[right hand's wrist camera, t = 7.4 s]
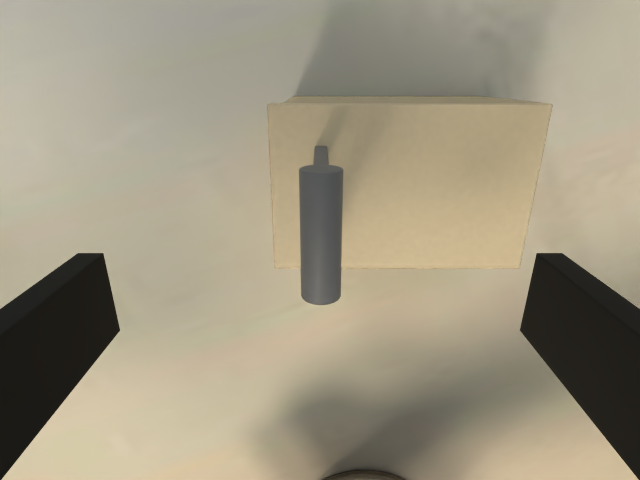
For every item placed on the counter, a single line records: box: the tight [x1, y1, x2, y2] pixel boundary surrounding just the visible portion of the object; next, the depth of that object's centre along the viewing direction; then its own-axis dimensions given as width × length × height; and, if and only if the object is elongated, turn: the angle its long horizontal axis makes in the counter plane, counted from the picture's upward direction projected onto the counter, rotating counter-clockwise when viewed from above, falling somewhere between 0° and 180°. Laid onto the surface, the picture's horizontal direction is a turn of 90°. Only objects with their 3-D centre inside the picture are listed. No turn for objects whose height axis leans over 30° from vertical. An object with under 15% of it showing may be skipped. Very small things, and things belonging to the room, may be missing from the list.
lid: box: [267, 103, 552, 305], centre depth 20 cm, size 15×10×9 cm, turn 90°
